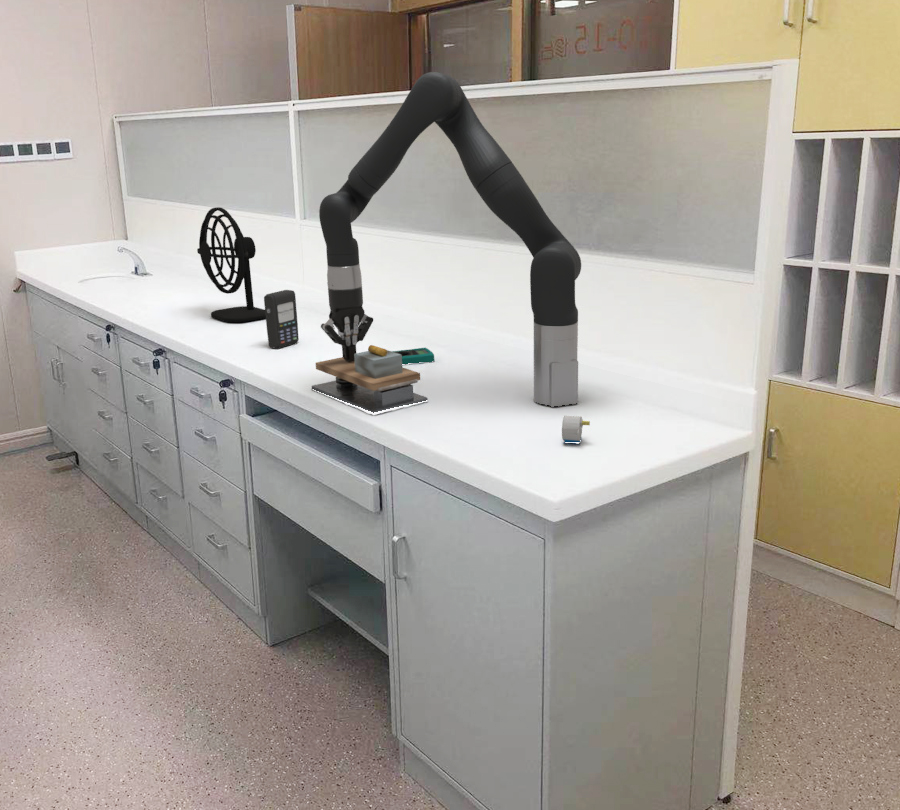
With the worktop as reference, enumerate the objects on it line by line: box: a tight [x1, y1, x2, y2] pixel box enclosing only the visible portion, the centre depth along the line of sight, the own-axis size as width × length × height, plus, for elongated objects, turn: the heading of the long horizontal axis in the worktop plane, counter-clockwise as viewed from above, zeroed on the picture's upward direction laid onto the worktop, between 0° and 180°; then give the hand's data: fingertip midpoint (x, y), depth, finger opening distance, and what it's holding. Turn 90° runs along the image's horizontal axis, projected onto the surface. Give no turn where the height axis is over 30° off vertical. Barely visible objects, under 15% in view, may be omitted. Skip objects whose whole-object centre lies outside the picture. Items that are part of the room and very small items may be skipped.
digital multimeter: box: [390, 347, 435, 364], centre depth 226 cm, size 7×15×3 cm, turn 107°
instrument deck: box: [315, 344, 421, 392], centre depth 196 cm, size 24×12×8 cm, turn 38°
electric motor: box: [561, 415, 591, 443], centre depth 165 cm, size 7×5×5 cm
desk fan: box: [196, 206, 266, 323], centre depth 281 cm, size 27×18×35 cm, turn 40°
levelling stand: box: [310, 376, 428, 413], centre depth 198 cm, size 26×14×5 cm, turn 38°
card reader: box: [263, 289, 299, 349], centre depth 245 cm, size 9×4×15 cm, turn 146°
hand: (350, 360), depth 202 cm, fingers closed
